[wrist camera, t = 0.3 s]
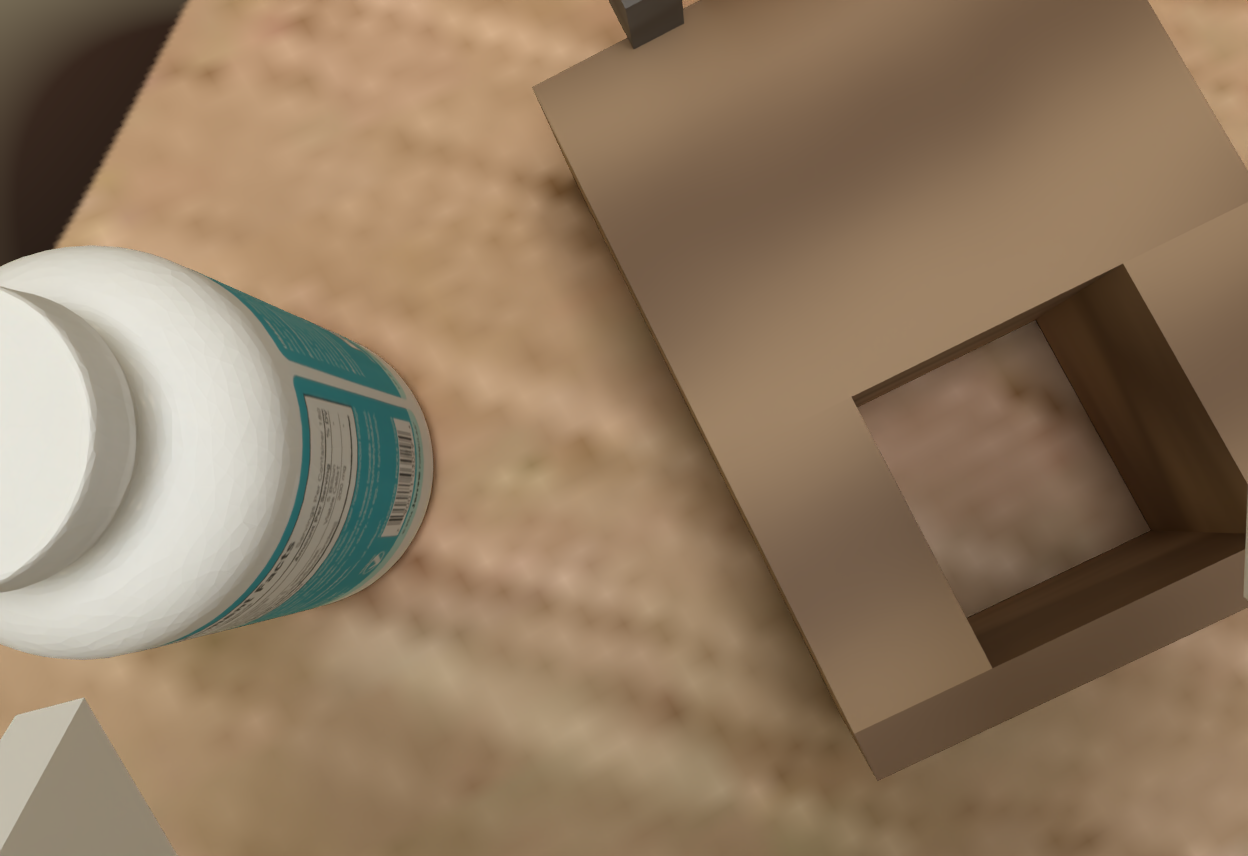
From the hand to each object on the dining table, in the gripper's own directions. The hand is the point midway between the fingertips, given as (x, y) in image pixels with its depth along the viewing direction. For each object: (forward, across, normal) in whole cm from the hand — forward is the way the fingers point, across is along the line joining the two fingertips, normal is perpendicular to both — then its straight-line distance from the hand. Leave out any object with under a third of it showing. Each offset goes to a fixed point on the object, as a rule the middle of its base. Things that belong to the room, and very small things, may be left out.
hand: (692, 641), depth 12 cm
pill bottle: (+17, +9, +4) cm, 19 cm away
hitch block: (+15, -8, +4) cm, 17 cm away
